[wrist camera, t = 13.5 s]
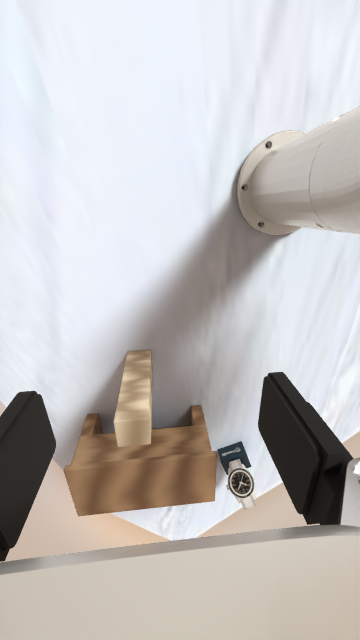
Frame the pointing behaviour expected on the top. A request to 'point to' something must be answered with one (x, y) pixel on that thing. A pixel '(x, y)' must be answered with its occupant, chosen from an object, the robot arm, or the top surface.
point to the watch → (238, 473)
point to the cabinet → (142, 469)
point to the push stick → (135, 401)
